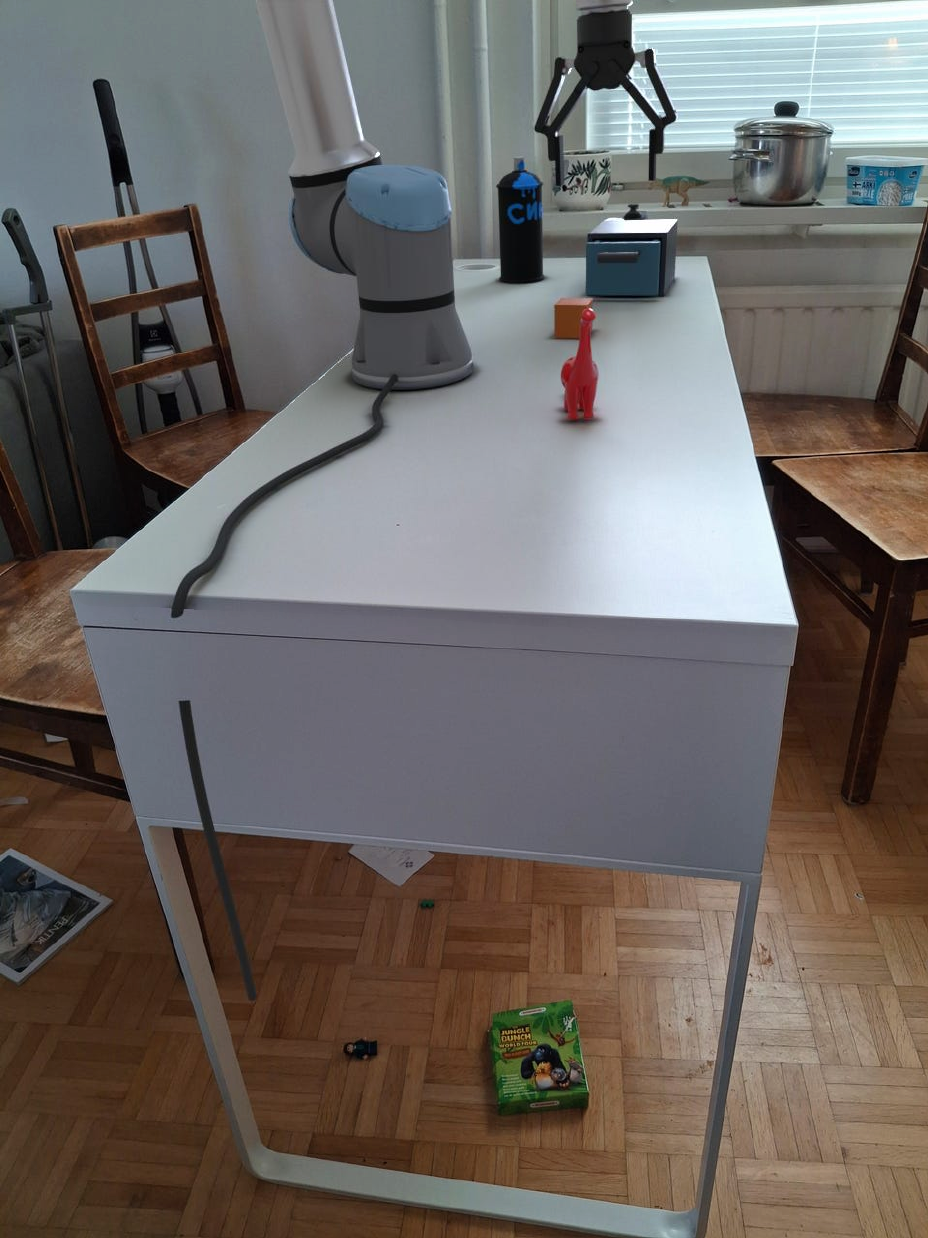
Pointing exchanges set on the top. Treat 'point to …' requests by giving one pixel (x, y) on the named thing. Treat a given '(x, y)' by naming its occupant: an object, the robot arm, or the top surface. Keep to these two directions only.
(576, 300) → the cube
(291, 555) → the top surface
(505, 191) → the aerosol can
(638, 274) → the drawer
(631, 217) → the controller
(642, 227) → the cabinet
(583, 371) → the dinosaur
